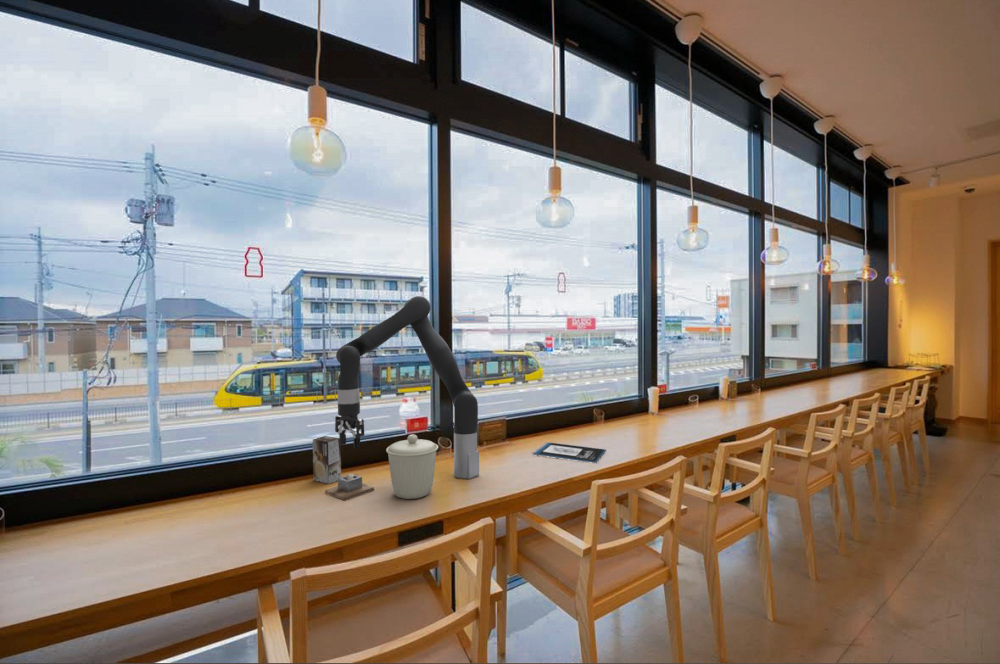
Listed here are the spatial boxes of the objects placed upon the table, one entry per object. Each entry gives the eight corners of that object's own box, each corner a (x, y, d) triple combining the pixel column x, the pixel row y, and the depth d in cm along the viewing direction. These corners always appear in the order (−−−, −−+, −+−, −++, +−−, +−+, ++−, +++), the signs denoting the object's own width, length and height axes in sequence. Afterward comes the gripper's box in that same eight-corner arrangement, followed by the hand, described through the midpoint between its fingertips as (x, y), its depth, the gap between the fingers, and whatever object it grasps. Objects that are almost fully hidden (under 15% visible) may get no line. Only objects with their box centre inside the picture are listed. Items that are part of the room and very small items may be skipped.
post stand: (374, 490, 158) (374, 473, 158) (344, 500, 148) (344, 483, 148) (354, 483, 165) (354, 467, 165) (325, 492, 155) (325, 476, 155)
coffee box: (342, 479, 170) (341, 438, 169) (328, 484, 164) (328, 441, 164) (325, 475, 174) (325, 435, 174) (312, 480, 168) (311, 439, 168)
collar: (362, 488, 157) (362, 477, 157) (347, 493, 152) (347, 481, 152) (352, 484, 161) (352, 473, 161) (337, 489, 156) (337, 478, 156)
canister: (427, 506, 143) (427, 442, 143) (377, 501, 147) (376, 439, 147) (445, 486, 161) (445, 429, 161) (399, 483, 165) (399, 427, 164)
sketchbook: (596, 465, 187) (596, 460, 187) (531, 456, 200) (531, 452, 200) (606, 452, 207) (606, 447, 207) (546, 445, 220) (546, 440, 220)
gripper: (369, 401, 155) (370, 446, 155) (346, 398, 163) (347, 441, 163) (351, 404, 149) (352, 451, 149) (328, 401, 157) (329, 445, 157)
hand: (349, 446), depth 156 cm, fingers open, 8 cm apart
